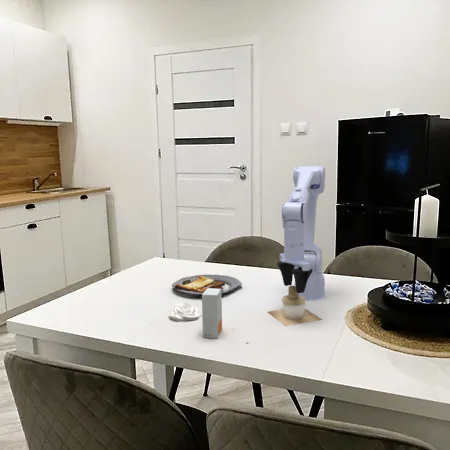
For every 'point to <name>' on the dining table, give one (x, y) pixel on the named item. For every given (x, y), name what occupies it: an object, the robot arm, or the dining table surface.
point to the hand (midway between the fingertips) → (294, 288)
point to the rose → (184, 312)
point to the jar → (294, 311)
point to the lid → (293, 297)
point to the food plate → (205, 283)
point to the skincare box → (212, 312)
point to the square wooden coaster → (279, 316)
